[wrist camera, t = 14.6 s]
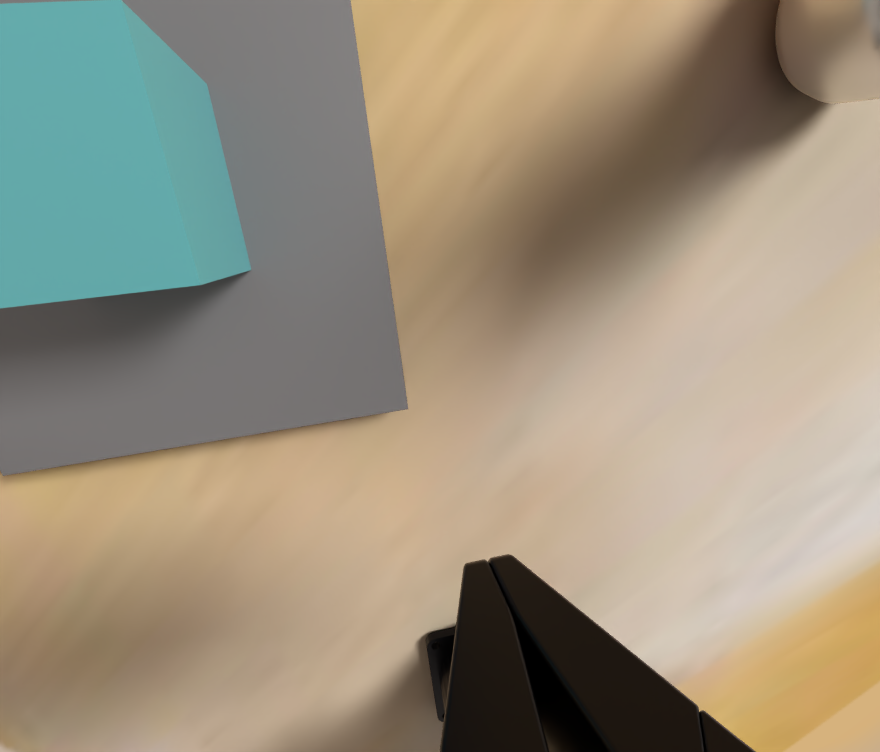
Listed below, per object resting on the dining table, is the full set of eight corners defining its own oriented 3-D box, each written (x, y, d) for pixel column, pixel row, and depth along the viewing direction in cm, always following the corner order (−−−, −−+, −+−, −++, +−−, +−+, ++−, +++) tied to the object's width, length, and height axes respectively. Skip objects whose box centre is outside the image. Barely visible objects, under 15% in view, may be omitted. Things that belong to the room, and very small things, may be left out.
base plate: (404, 396, 19) (408, 408, 18) (32, 456, 17) (2, 475, 16) (327, -147, 13) (323, -192, 12) (-252, -147, 11) (-340, -202, 10)
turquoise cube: (251, 269, 15) (200, 284, 10) (77, 289, 14) (-63, 315, 10) (207, 84, 13) (120, -1, 8) (4, 96, 12) (-212, 10, 8)
